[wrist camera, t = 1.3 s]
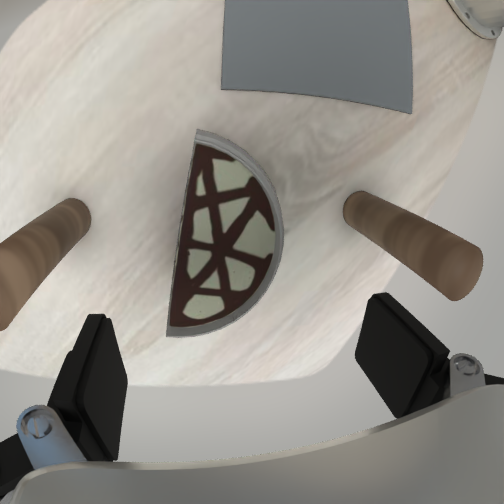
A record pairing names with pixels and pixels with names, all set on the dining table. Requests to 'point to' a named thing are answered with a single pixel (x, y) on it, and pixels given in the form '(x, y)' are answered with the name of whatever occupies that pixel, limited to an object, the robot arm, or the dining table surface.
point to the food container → (223, 239)
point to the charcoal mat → (321, 49)
